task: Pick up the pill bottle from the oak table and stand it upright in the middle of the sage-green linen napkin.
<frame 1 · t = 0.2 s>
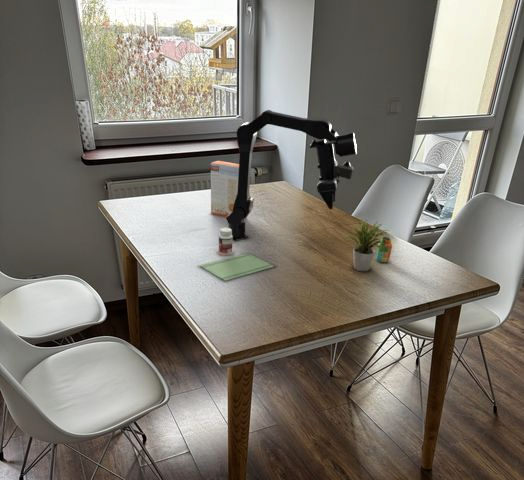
hand: (332, 205, 181), 15 cm above the table, tool pointing down, fingers open, 9 cm apart
cracker box: (228, 215, 216), on the table
pill bottle: (225, 253, 180), on the table
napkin: (237, 266, 170), on the table
house plant: (361, 270, 172), on the table
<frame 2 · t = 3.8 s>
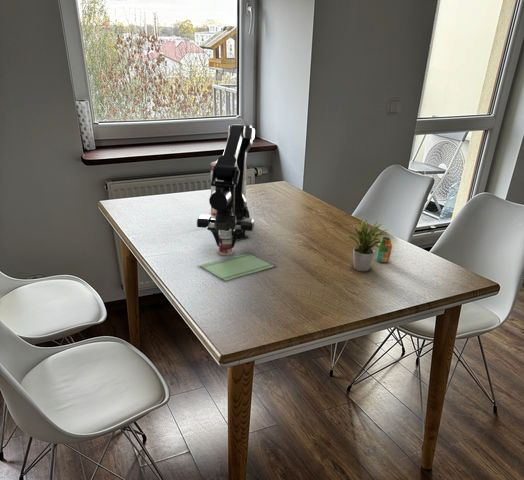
hand: (225, 246, 178), 2 cm above the table, tool pointing down, fingers closed on pill bottle, 5 cm apart
pill bottle: (225, 253, 180), on the table, touching gripper
everything else where it was.
when the fingers open (2 cm above the table, at t = 9.0 s): pill bottle stays where it is, resting on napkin.
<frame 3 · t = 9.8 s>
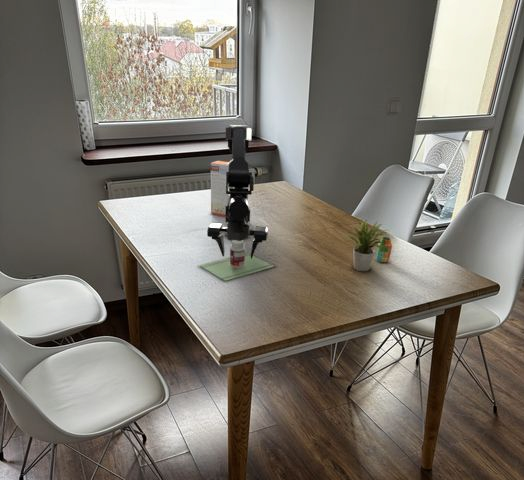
hand: (237, 257, 168), 3 cm above the table, tool pointing down, fingers open, 9 cm apart
pill bottle: (237, 266, 170), resting on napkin
everything else where it was.
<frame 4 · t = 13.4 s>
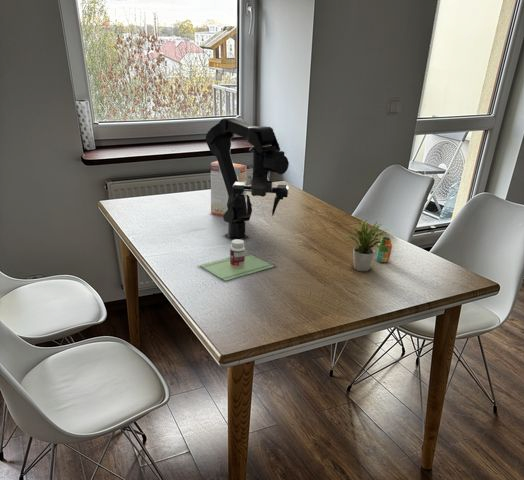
hand: (259, 214, 179), 12 cm above the table, tool pointing down, fingers open, 9 cm apart
nothing on the table moved.
at the end: pill bottle inside the target area on the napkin (0.1 cm from its centre), point 0.1 cm above the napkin's base; pill bottle tilted 0°; the gripper is holding nothing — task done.
